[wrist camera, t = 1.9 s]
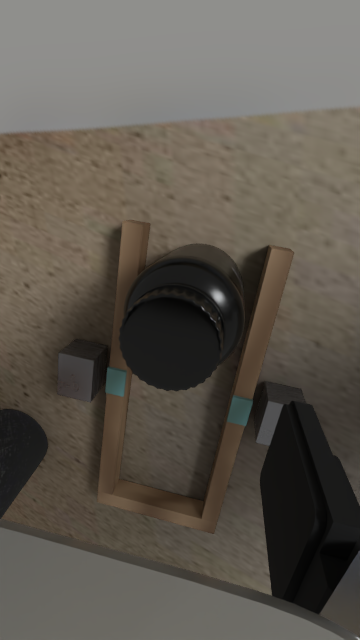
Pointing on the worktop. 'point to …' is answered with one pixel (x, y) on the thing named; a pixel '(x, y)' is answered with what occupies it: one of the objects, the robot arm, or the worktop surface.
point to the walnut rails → (238, 409)
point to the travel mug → (18, 453)
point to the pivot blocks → (89, 375)
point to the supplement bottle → (183, 317)
